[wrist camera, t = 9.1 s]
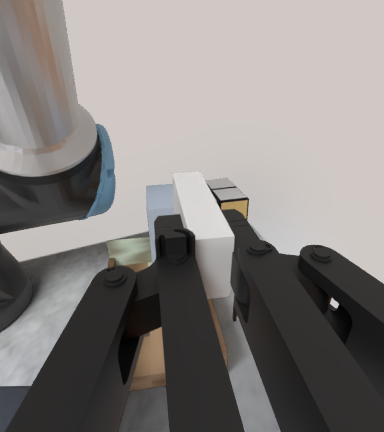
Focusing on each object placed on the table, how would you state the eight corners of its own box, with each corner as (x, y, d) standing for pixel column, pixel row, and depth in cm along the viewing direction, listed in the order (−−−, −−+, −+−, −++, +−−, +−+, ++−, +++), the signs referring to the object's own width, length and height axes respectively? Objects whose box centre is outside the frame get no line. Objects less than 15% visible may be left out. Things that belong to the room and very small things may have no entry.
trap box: (95, 396, 27) (82, 355, 25) (113, 273, 44) (107, 240, 41) (226, 375, 29) (228, 334, 26) (195, 264, 46) (195, 232, 43)
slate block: (156, 303, 36) (146, 209, 30) (154, 269, 42) (146, 185, 36) (195, 298, 36) (194, 205, 30) (188, 265, 42) (185, 182, 36)
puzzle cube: (178, 230, 56) (175, 182, 51) (226, 224, 58) (228, 177, 53) (189, 259, 47) (187, 204, 43) (245, 250, 49) (250, 197, 45)
